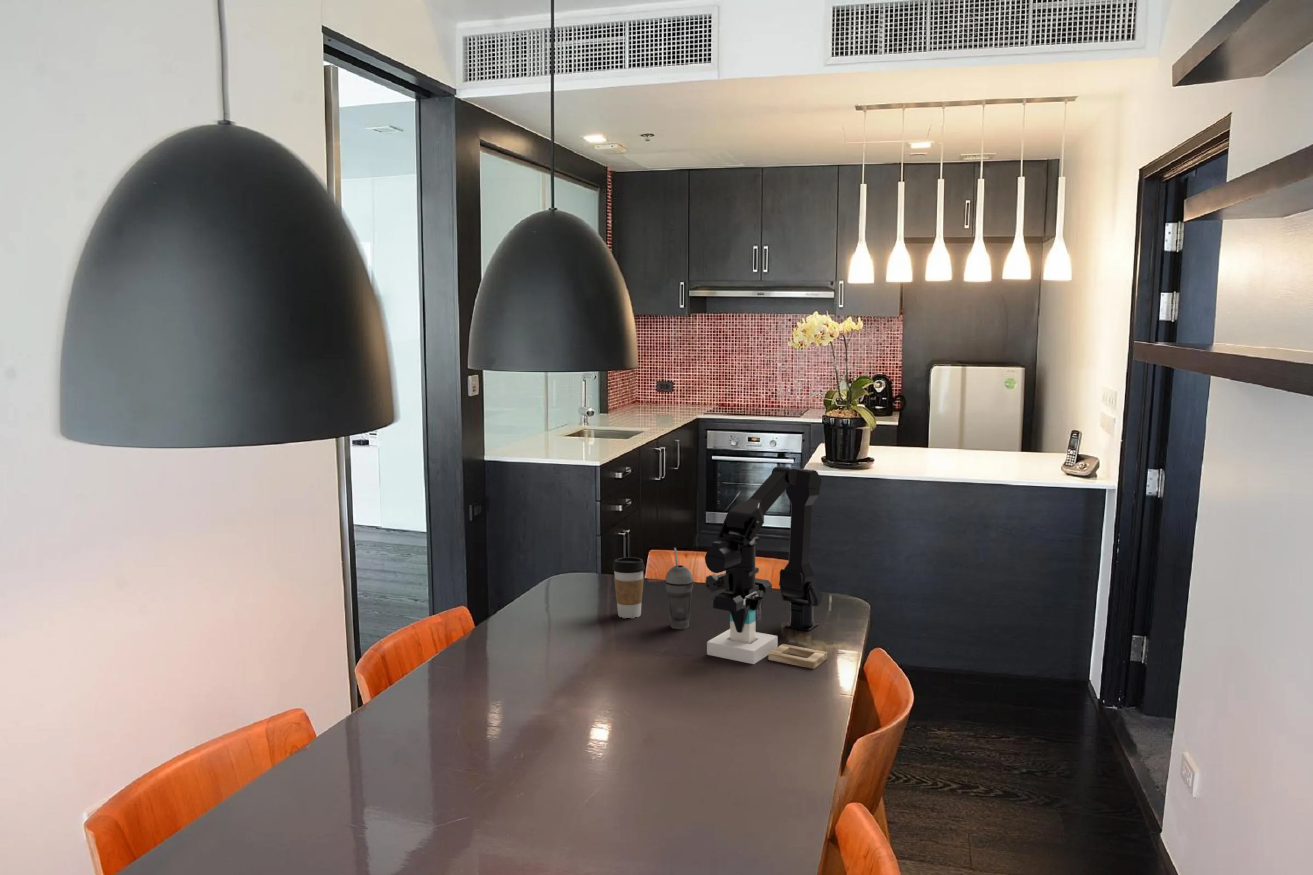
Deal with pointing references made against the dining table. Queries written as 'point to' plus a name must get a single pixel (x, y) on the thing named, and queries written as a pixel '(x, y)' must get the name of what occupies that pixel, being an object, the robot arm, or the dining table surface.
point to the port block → (742, 647)
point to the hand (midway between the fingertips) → (742, 630)
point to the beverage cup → (679, 594)
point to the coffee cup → (629, 586)
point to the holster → (782, 656)
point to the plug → (744, 629)
